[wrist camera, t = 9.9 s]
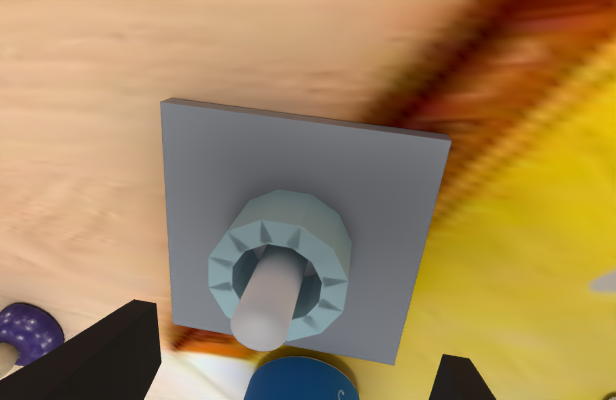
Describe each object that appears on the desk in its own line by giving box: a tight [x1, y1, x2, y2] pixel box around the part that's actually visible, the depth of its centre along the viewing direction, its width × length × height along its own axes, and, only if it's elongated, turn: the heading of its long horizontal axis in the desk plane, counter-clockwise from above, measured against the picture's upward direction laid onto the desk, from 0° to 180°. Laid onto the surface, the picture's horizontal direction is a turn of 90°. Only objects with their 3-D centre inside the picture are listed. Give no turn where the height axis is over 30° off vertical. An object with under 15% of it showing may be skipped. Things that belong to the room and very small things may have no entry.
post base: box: [160, 98, 451, 365], centre depth 16 cm, size 12×12×6 cm
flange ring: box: [208, 189, 352, 341], centre depth 17 cm, size 6×6×3 cm
